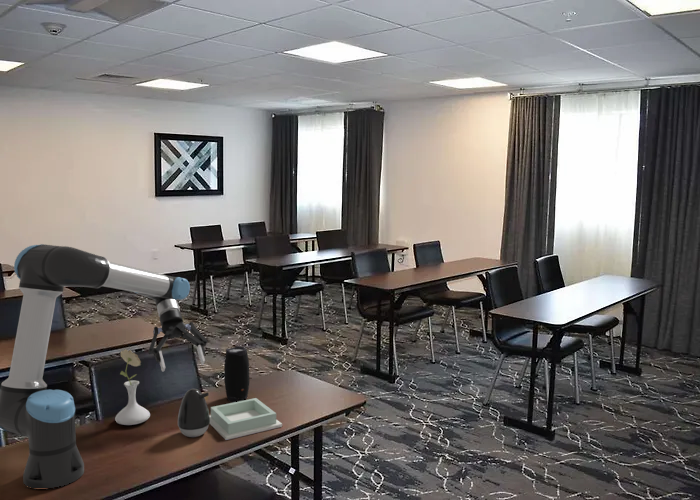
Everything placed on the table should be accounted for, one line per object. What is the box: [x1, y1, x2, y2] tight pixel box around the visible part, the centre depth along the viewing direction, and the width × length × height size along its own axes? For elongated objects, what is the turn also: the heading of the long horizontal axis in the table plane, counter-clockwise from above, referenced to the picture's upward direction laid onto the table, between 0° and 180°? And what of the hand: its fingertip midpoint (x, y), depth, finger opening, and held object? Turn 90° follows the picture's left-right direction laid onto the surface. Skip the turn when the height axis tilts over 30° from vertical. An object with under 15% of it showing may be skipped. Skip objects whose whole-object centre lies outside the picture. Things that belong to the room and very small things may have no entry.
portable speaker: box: [223, 345, 250, 403], centre depth 222 cm, size 9×9×20 cm
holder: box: [209, 397, 283, 441], centre depth 200 cm, size 20×20×4 cm
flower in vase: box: [114, 348, 151, 426], centre depth 200 cm, size 13×11×25 cm
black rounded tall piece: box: [177, 388, 210, 438], centre depth 190 cm, size 10×10×15 cm
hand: (183, 366), depth 198 cm, fingers open, 13 cm apart
